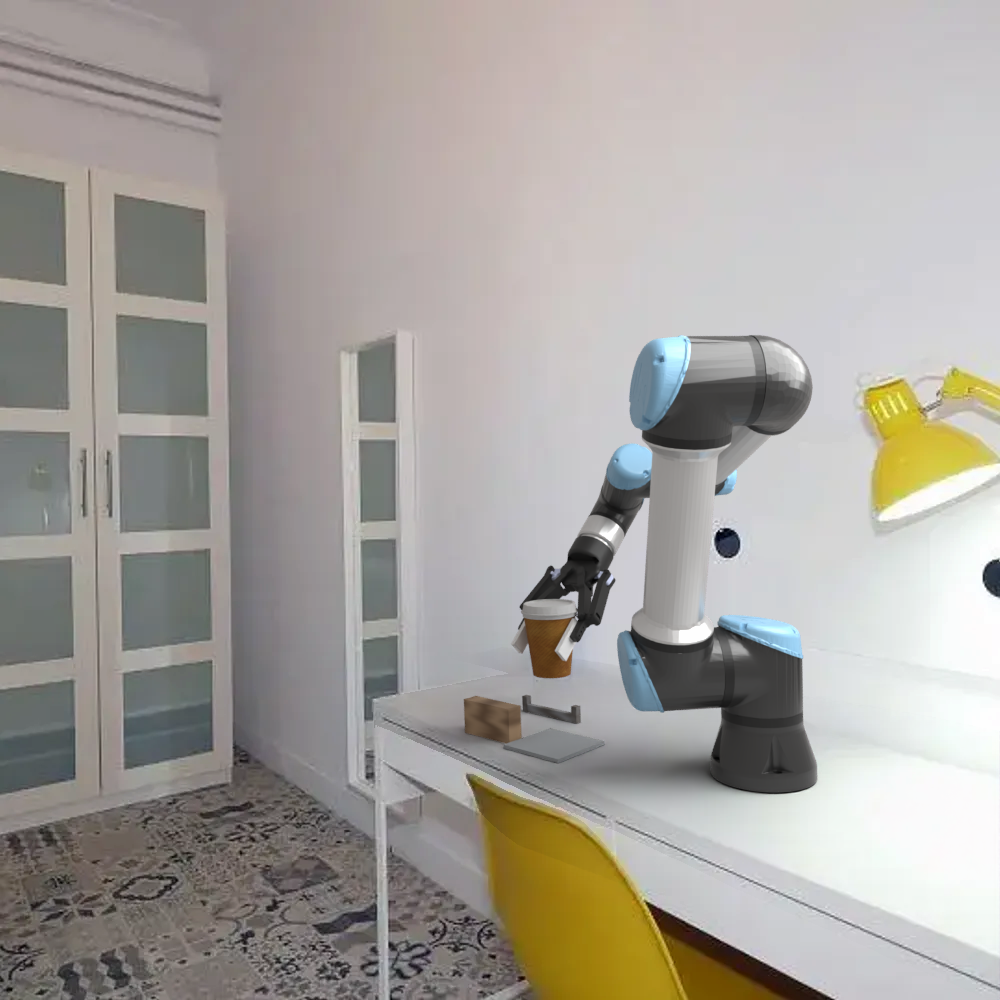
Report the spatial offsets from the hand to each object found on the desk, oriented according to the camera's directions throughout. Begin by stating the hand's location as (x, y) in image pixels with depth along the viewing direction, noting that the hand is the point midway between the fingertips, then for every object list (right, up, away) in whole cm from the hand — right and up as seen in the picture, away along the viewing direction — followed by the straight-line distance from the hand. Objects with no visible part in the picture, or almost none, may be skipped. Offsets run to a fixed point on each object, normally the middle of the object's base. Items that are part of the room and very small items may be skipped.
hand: (538, 652), depth 142 cm
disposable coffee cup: (+2, -4, +2) cm, 5 cm away
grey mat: (+3, -16, +2) cm, 17 cm away
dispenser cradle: (-2, -16, +14) cm, 22 cm away
